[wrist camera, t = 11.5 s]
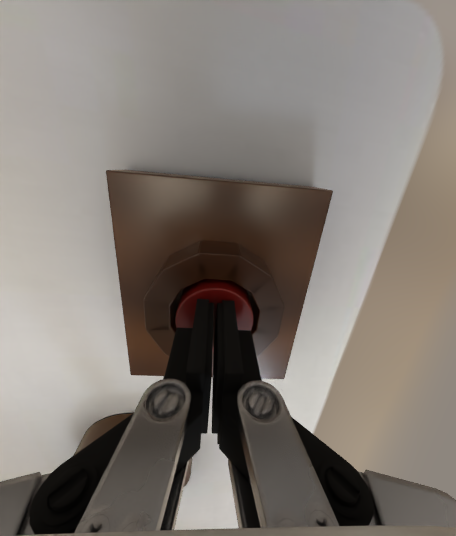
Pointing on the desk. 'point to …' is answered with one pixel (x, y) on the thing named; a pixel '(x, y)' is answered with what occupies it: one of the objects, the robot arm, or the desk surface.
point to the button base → (212, 256)
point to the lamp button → (215, 294)
